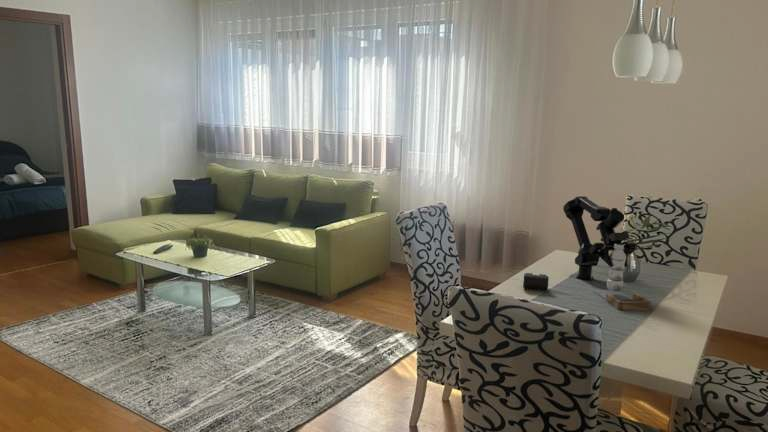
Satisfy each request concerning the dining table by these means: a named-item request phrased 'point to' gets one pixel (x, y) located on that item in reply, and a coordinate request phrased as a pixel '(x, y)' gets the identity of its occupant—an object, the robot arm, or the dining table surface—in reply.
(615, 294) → the felt coaster
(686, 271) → the dining table surface
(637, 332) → the dining table surface
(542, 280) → the end cap
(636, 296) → the walnut collar
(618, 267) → the plastic bottle
